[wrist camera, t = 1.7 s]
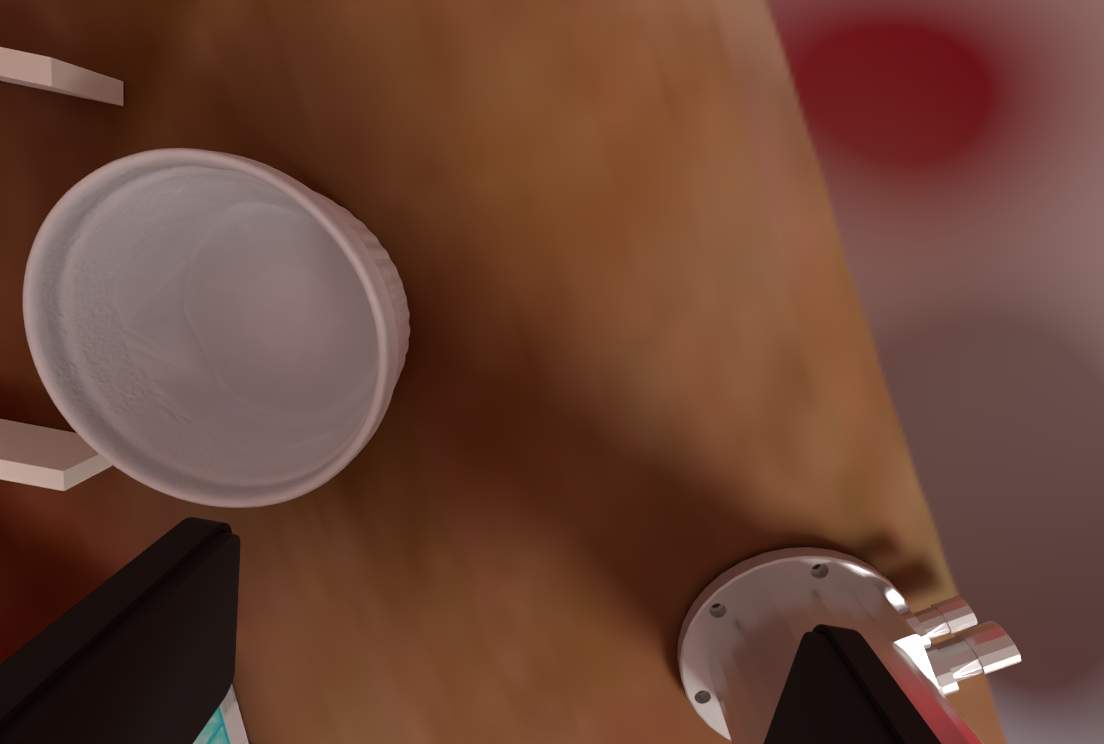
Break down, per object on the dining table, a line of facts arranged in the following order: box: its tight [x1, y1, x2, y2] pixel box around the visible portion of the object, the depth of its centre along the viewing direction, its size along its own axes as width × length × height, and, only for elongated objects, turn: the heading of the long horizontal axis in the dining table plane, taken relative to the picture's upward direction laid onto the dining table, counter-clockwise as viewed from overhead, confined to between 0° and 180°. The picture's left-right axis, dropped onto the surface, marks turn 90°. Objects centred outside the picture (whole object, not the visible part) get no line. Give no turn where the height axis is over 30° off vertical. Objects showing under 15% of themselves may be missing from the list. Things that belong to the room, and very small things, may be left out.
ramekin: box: [23, 148, 410, 508], centre depth 23 cm, size 13×13×7 cm
